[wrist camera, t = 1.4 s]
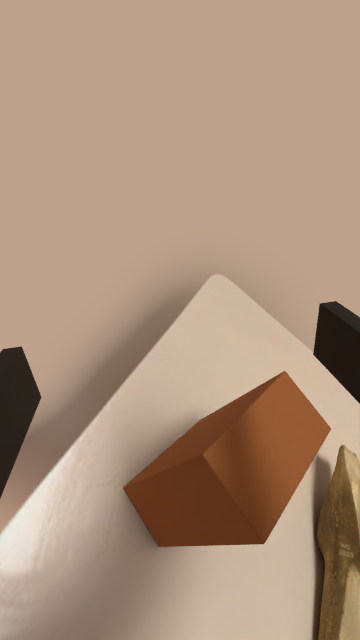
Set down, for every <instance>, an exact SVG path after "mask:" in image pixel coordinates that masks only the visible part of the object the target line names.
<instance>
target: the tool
mask: <svg viewBox="0 0 360 640" xmlns="http://www.w3.org/2000/svg"><path fill="white" fill-rule="evenodd" d="M317 540H318V545H319V548H320V550H321V552H322V554H323V556H324V560H325V576H324V585H323V596H322V603H321V614H320V627H319V637H318V640H360V464H359V460H358V458H357V456H356V454H354V453H352V452H351V451H349V450H348V449H347V448H346V447H345V445H342V446H341V447H340V449H339V453H338V457H337V463H336V466H335V471H334V473H333V477H332V480H331V482H330V485H329V487H328V490H327V492H326V495H325V498H324V501H323V504H322V507H321V512H320V517H319V523H318V530H317Z"/></svg>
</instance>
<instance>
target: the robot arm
mask: <svg viewBox="0 0 360 640" xmlns="http://www.w3.org/2000/svg"><path fill="white" fill-rule="evenodd" d="M313 355H314V356H315V357H316V358H317V359H318V360H319V361H320V362H321V363H322V364H323V365H324V366H325V367H326V368H327V370H328V371H329V372H330V373H331V374H332V375H333V376H334V377H335V378H336V379H337V380H338V381H339V382H340V383H341V384H342V385H343V386H344V388H345V389H346V390H347V391H348V392H349V393H350V394H351V395H352V396H353V397H354V398H355V399H356V400H357V401H358V402H359V403H360V317H358V316H357V315H355V314H354V313H352V312H351V311H350V310H348V309H347V308H345V307H344V306H342V305H341V304H339V303H337V302H336V301H335V302H328V303H321V304H320V306H319V315H318V323H317V330H316V338H315V345H314V353H313ZM40 399H41V395H40V392H39V390H38V387H37V385H36V382H35V380H34V377H33V375H32V372H31V369H30V367H29V364H28V362H27V359H26V357H25V354H24V351H23V349H22V347H16V348H8V349H3V350H2V351H1V353H0V498H1V495H2V493H3V490H4V488H5V485H6V483H7V480H8V478H9V475H10V473H11V470H12V468H13V466H14V463H15V461H16V458H17V456H18V453H19V451H20V448H21V446H22V443H23V441H24V438H25V436H26V434H27V431H28V429H29V426H30V424H31V421H32V419H33V416H34V414H35V411H36V409H37V406H38V404H39V401H40Z"/></svg>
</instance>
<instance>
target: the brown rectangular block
mask: <svg viewBox="0 0 360 640" xmlns="http://www.w3.org/2000/svg"><path fill="white" fill-rule="evenodd" d="M330 430H331V428H330V427H329V425H328V424H327V423H326V422H325V420H324V419H323V418H322V417H321V415H320V414H319V413H318V412H317V410H316V409H315V408H314V407H313V405H312V404H311V403H310V402H309V400H308V399H307V398H306V397H305V395H304V394H303V393H302V392H301V390H300V389H299V388H298V387H297V385H296V384H295V383H294V382H293V380H292V379H291V378H290V377H289V375H288V374H287V373H286V372H285V371H284V372H282V373H280V374H279V375H277V376H275V377H274V378H272V379H270V380H268V381H267V382H265V383H263V384H262V385H260V386H258V387H256V388H255V389H253V390H251V391H250V392H248V393H246V394H244V395H243V396H241V397H239V398H238V399H236V400H234V401H232V402H231V403H229V404H227V405H226V406H224V407H222V408H220V409H219V410H217V411H215V412H213V413H212V414H210V415H208V416H207V417H205V418H203V419H201V420H200V421H199V422H198V423H197V424H195V425H194V426H193V427H192V428H191V429H190V430H189V431H187V432H186V433H185V434H184V435H183V436H182V437H181V438H179V439H178V440H177V441H176V442H175V443H174V444H173V445H172V446H170V447H169V448H168V449H167V450H166V451H165V452H164V453H162V454H161V455H160V456H159V457H158V458H157V459H156V460H154V461H153V462H152V463H151V464H150V465H149V466H148V467H146V468H145V469H144V470H143V471H142V472H141V473H140V474H138V475H137V476H136V477H135V478H134V479H133V480H132V481H130V482H129V483H128V484H127V485H126V486H125V487H124V490H125V492H126V494H127V495H128V497H129V499H130V500H131V502H132V503H133V505H134V507H135V508H136V510H137V512H138V513H139V515H140V517H141V518H142V520H143V521H144V523H145V525H146V526H147V528H148V530H149V531H150V533H151V535H152V536H153V538H154V539H155V541H156V543H157V544H158V546H159V547H172V546H209V545H246V544H264V543H265V542H266V540H267V538H268V537H269V535H270V533H271V531H272V530H273V528H274V526H275V525H276V523H277V521H278V519H279V518H280V516H281V514H282V513H283V511H284V509H285V507H286V506H287V504H288V502H289V500H290V499H291V497H292V495H293V494H294V492H295V490H296V488H297V487H298V485H299V483H300V482H301V480H302V478H303V476H304V475H305V473H306V471H307V470H308V468H309V466H310V464H311V463H312V461H313V459H314V457H315V456H316V454H317V452H318V451H319V449H320V447H321V445H322V444H323V442H324V440H325V439H326V437H327V435H328V433H329V432H330Z"/></svg>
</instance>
